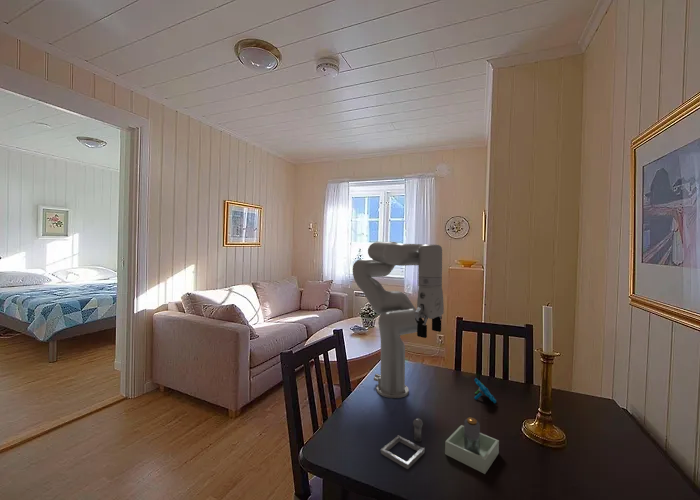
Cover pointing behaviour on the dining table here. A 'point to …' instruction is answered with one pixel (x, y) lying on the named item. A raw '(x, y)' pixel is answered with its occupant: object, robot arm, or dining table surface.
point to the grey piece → (417, 438)
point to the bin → (478, 462)
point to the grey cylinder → (472, 435)
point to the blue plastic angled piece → (483, 391)
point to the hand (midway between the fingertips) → (429, 333)
